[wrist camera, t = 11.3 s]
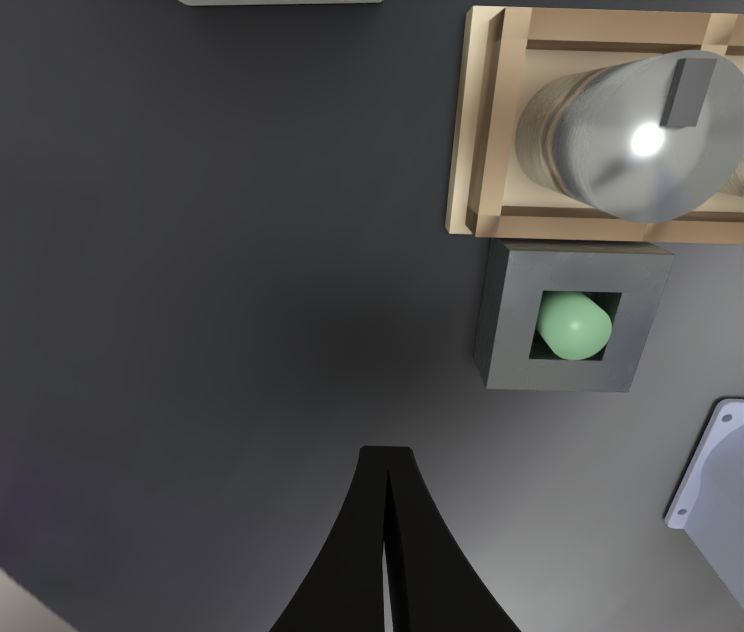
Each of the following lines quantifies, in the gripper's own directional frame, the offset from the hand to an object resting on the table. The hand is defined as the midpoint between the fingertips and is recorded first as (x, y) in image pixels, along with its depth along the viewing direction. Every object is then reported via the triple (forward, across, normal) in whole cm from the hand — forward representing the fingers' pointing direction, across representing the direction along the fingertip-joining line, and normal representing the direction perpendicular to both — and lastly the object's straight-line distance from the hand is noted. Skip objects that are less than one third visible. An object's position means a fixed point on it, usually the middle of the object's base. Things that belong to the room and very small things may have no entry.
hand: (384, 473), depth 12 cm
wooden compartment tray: (+10, -10, -8) cm, 16 cm away
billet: (+9, -7, -8) cm, 14 cm away
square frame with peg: (+10, -8, -1) cm, 13 cm away
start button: (+9, -8, -1) cm, 12 cm away
